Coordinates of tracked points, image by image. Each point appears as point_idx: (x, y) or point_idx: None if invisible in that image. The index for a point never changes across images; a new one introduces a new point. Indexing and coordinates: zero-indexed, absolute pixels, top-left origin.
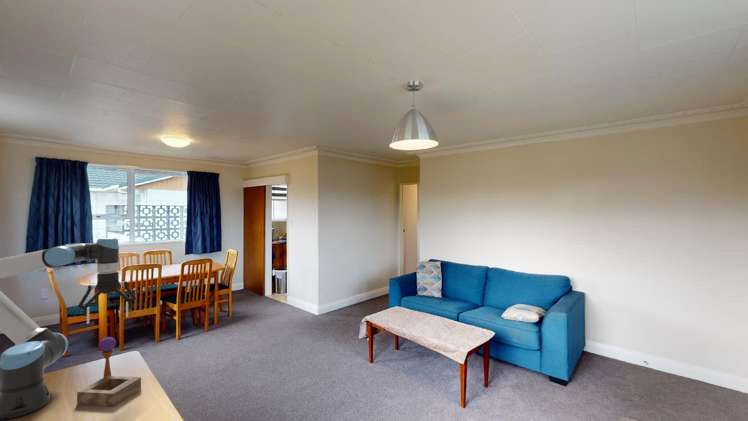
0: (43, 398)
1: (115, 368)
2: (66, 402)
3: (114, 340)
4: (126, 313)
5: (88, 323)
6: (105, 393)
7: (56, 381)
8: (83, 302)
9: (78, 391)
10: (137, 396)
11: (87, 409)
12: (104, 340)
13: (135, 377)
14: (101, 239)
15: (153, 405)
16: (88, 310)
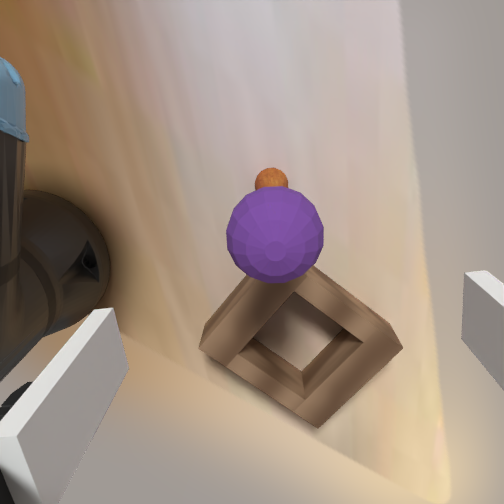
0: (94, 297)
1: (286, 10)
2: (167, 288)
3: (318, 251)
4: (487, 365)
5: (123, 369)
6: (292, 410)
7: (54, 30)
8: None
9: (202, 348)
10: None
11: None
12: (261, 275)
13: (384, 338)
14: None
15: (416, 449)
16: (57, 492)
